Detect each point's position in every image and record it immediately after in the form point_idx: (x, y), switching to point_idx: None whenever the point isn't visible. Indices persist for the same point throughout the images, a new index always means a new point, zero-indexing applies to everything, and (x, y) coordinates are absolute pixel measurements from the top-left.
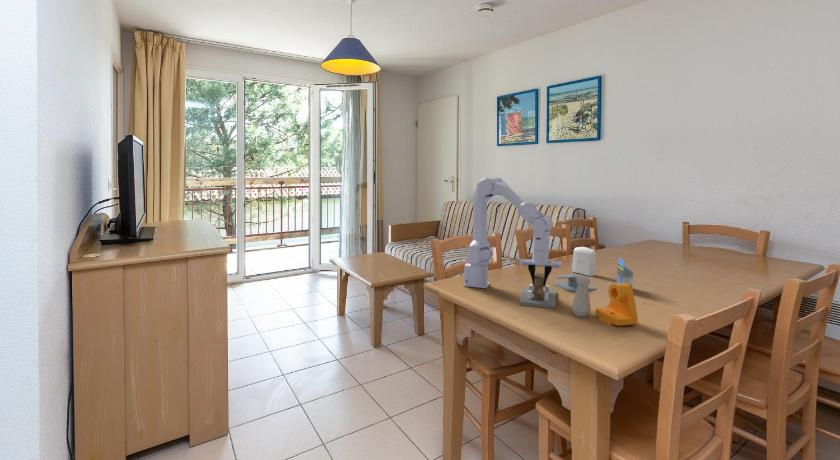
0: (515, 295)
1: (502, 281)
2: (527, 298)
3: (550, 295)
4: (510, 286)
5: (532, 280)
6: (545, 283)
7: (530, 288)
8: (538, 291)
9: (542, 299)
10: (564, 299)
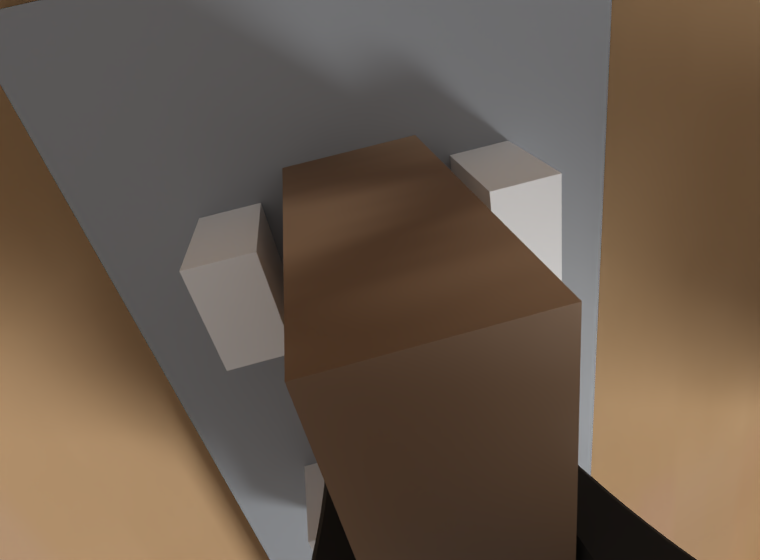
0: (643, 292)
1: (740, 548)
2: (507, 139)
3: (265, 431)
4: (685, 491)
5: (585, 473)
6: (321, 516)
7: None
8: (367, 205)
9: None
10: (122, 463)
